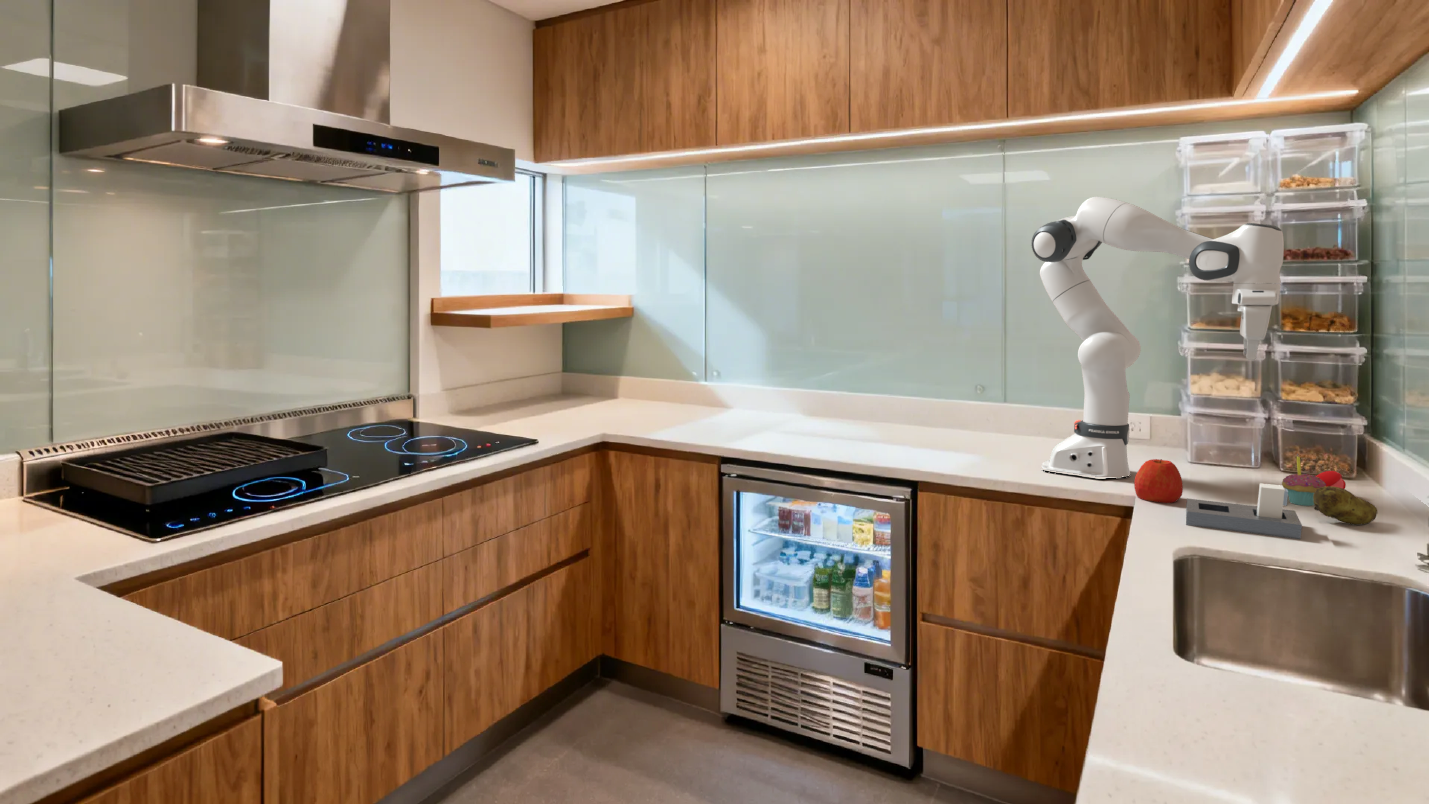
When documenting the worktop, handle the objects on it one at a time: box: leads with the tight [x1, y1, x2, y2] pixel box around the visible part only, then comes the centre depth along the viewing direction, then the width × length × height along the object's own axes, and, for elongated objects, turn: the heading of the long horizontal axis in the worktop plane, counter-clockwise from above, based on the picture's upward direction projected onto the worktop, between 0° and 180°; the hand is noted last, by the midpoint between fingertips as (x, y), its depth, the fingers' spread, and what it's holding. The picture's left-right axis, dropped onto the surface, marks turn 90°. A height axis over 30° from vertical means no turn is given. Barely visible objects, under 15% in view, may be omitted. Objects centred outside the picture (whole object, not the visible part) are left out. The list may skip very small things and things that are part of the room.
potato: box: [1313, 486, 1378, 526], centre depth 176 cm, size 8×13×8 cm, turn 74°
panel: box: [1185, 498, 1303, 541], centre depth 173 cm, size 20×12×4 cm, turn 60°
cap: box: [1315, 470, 1347, 490], centre depth 199 cm, size 8×6×6 cm
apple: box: [1134, 458, 1184, 504], centre depth 193 cm, size 10×10×10 cm
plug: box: [1257, 482, 1289, 519], centre depth 170 cm, size 5×4×9 cm
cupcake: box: [1281, 453, 1326, 507], centre depth 191 cm, size 9×8×12 cm
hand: (1249, 357), depth 183 cm, fingers open, 8 cm apart
